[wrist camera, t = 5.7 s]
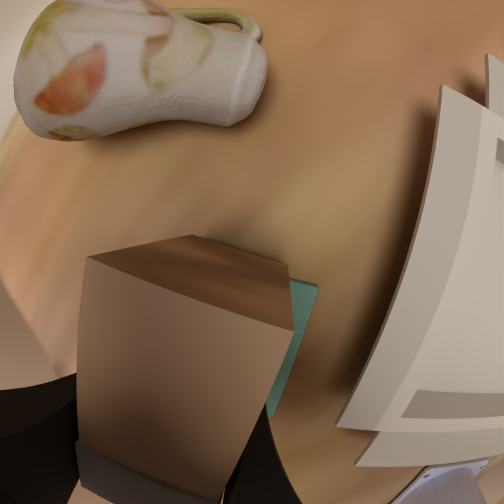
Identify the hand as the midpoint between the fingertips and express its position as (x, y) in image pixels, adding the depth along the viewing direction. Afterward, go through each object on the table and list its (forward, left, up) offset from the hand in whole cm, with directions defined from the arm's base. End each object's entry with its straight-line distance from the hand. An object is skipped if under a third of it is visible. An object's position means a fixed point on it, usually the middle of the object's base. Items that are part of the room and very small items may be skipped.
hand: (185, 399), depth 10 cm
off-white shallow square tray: (+6, -16, -5) cm, 18 cm away
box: (+1, 0, -3) cm, 3 cm away
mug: (+12, +5, -5) cm, 14 cm away
